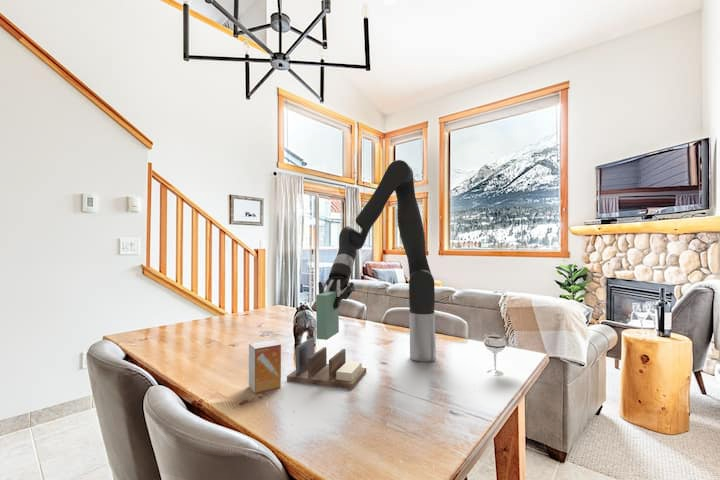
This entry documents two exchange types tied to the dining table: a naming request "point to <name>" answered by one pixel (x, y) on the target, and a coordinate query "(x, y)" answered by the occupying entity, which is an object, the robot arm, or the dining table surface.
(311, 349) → the bookend
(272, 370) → the small box
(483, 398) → the dining table surface
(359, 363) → the toppled book
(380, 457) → the dining table surface
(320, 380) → the book rack
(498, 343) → the wineglass
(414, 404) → the dining table surface
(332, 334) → the book
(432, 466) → the dining table surface
